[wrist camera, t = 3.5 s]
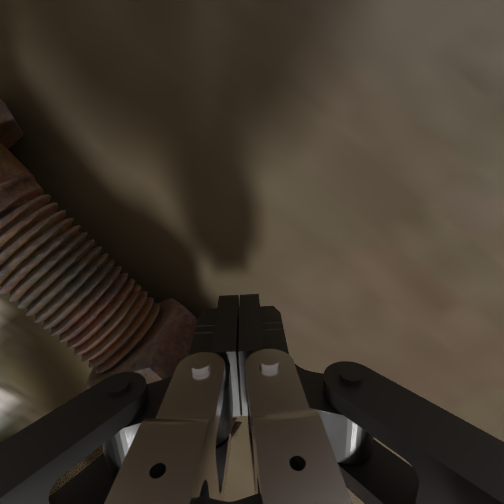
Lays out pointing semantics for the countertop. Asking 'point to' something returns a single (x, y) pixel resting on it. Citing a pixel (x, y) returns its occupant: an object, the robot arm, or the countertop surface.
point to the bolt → (81, 283)
